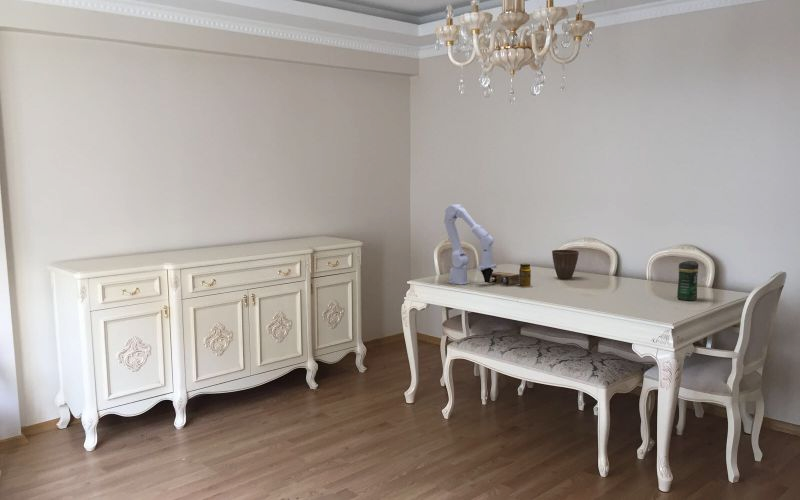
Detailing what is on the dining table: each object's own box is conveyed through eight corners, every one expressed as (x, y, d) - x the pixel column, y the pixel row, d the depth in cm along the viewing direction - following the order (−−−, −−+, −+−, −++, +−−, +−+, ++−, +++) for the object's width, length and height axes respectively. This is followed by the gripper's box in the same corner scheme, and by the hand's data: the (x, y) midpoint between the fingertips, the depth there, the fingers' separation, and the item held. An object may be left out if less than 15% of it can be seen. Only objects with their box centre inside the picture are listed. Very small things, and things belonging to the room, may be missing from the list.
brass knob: (486, 282, 366) (486, 276, 366) (496, 280, 372) (496, 274, 372) (491, 283, 364) (491, 277, 364) (500, 281, 370) (500, 275, 370)
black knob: (500, 283, 362) (500, 277, 362) (510, 281, 368) (510, 275, 368) (505, 284, 360) (505, 278, 360) (515, 282, 366) (515, 276, 366)
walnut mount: (489, 283, 371) (489, 273, 370) (498, 281, 376) (498, 271, 376) (510, 286, 361) (510, 275, 360) (519, 284, 366) (519, 274, 366)
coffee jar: (691, 301, 313) (693, 262, 311) (674, 299, 319) (676, 261, 317) (699, 298, 320) (701, 260, 318) (682, 296, 326) (684, 259, 324)
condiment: (534, 286, 360) (534, 264, 359) (522, 288, 355) (522, 265, 354) (524, 284, 366) (524, 262, 365) (513, 286, 362) (513, 264, 360)
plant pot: (583, 279, 382) (584, 251, 380) (565, 281, 373) (566, 253, 371) (563, 276, 394) (564, 249, 392) (546, 278, 385) (546, 251, 384)
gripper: (484, 259, 355) (484, 284, 356) (501, 256, 365) (501, 281, 366) (474, 258, 360) (474, 283, 361) (490, 255, 370) (490, 280, 371)
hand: (486, 282), depth 364 cm, fingers closed
